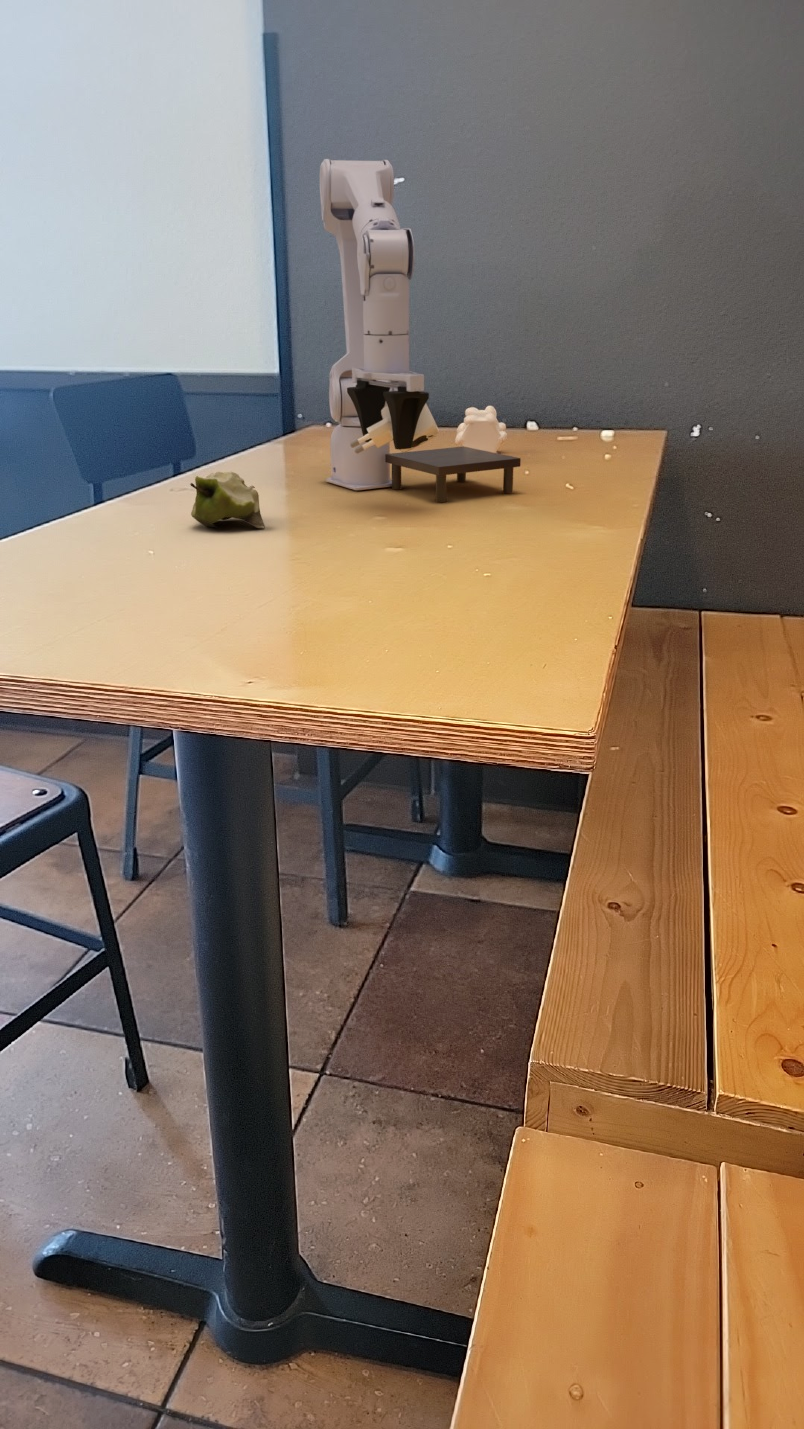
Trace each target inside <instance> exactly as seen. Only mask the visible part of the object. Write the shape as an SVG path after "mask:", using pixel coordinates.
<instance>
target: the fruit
mask: <svg viewBox="0 0 804 1429" xmlns="http://www.w3.org/2000/svg"><path fill="white" fill-rule="evenodd" d="M194 482H195V484H194ZM194 482H191V483H190V486H191V487H192V488H194V489H195V491H196V494H195V500H194V503H193V505H192V510H191V513H190V516H191V517H192V518H193V519H194V520H195V521H197V522H198V523H200V524H201V525H203V526H205V527H207V528H214V529H215V528H216V529H219V528H220V527H219V526H217V525H215V524H214V523H217V522H219V521H227V520H230V519H237V520H240V521H241V520H242V521H244V522H245V523H247V524H249V525H251V526H253V527H255V528H257V529H263V530H264V529H265V528H266V525H265V522H264V520H263V517H262V514H261V508H260V494H259V492H258V490H256V487H255V486H254V485H250V486H247V485H246V484H245V479H244V478H242V477H240V475H239V474H238V473H236V472H233V471H227V472H221V471H216V472H215V473H213V472H212V473H210V474H208V475H207V476H206V477H205V478H204V477H200V476H199V475H197V476H195V479H194Z"/></svg>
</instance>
